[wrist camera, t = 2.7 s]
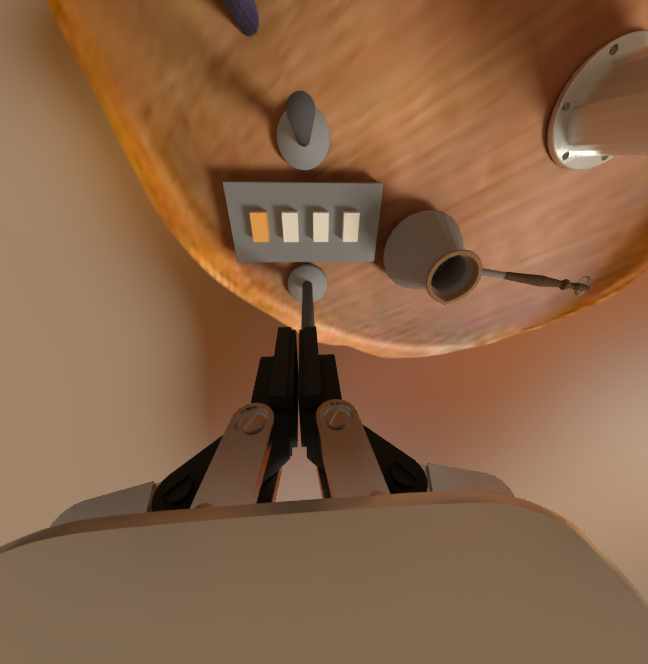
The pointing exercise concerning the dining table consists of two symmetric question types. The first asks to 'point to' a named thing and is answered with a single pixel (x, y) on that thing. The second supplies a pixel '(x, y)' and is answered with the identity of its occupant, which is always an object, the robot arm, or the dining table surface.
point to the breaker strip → (304, 220)
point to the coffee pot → (445, 260)
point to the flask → (244, 15)
